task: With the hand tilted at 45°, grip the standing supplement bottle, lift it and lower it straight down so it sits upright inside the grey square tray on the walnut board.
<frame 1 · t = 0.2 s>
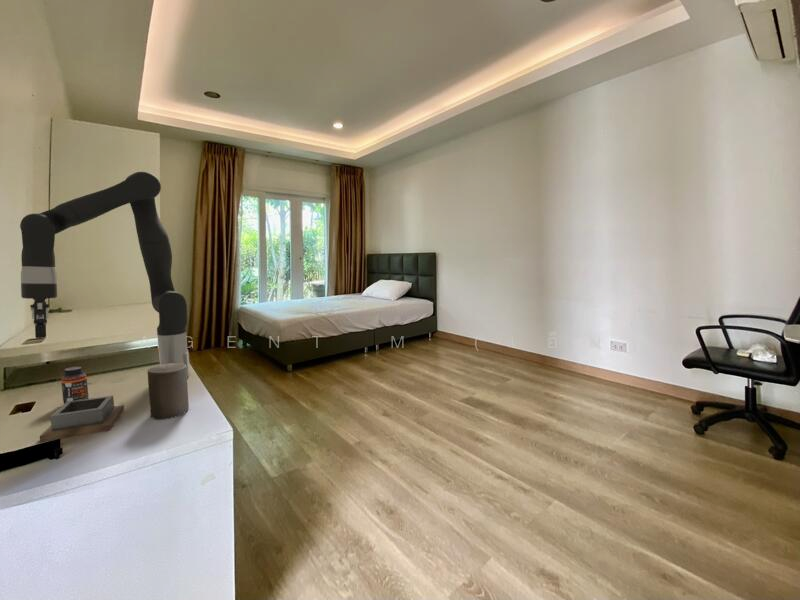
hand: (40, 336, 107), 22 cm above the table, tool pointing down, fingers open, 8 cm apart
socket board: (86, 424, 98), on the table
grey square tray: (84, 412, 98), on the socket board, point 4 cm above the table
supplement bottle: (76, 403, 113), on the table
pillar candle: (170, 412, 106), on the table
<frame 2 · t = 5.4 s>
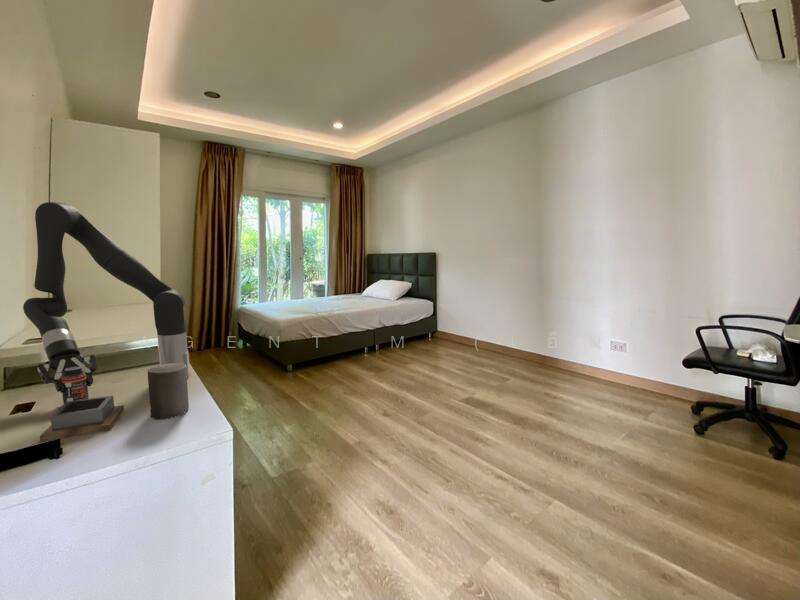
hand: (76, 387, 111), 5 cm above the table, tool tilted 45°, fingers closed on supplement bottle, 6 cm apart
supplement bottle: (76, 403, 113), on the table, touching gripper
everything else where it was.
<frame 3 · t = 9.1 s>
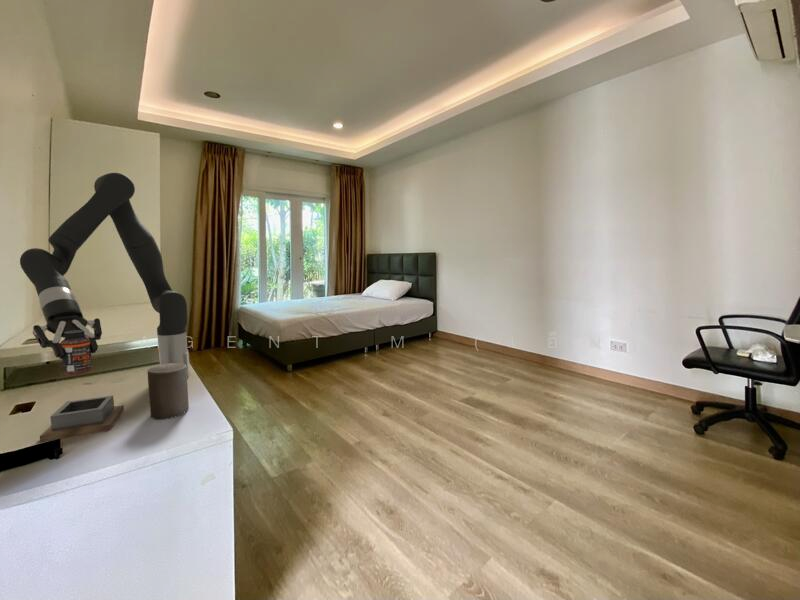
hand: (78, 353, 95), 20 cm above the table, tool tilted 45°, fingers closed on supplement bottle, 6 cm apart
supplement bottle: (78, 372, 97), point 15 cm above the table, touching gripper
everything else where it was.
when the fingers open (9 cm above the table, at t = 12.4 s): supplement bottle drops 2 cm, resting on socket board.
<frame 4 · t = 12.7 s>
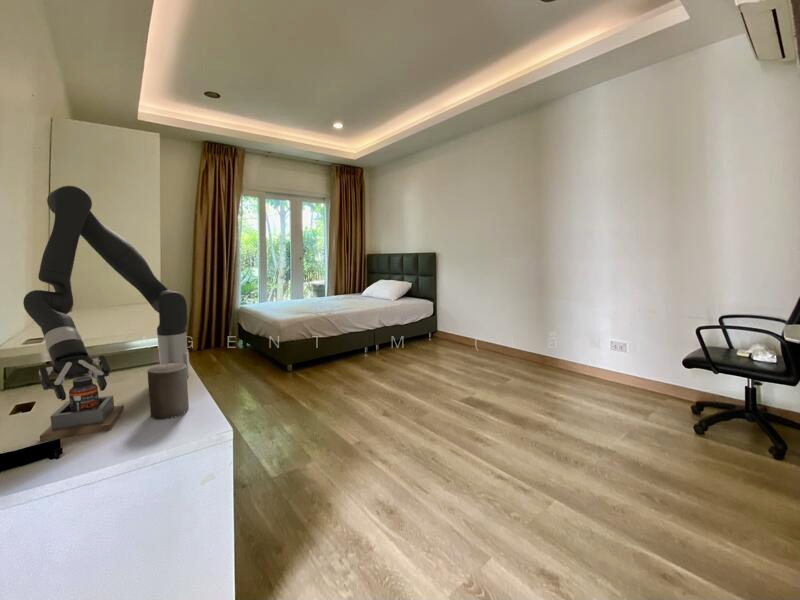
hand: (84, 393, 96), 9 cm above the table, tool tilted 45°, fingers open, 8 cm apart
supplement bottle: (86, 419, 98), point 1 cm above the table, touching socket board
everything else where it was.
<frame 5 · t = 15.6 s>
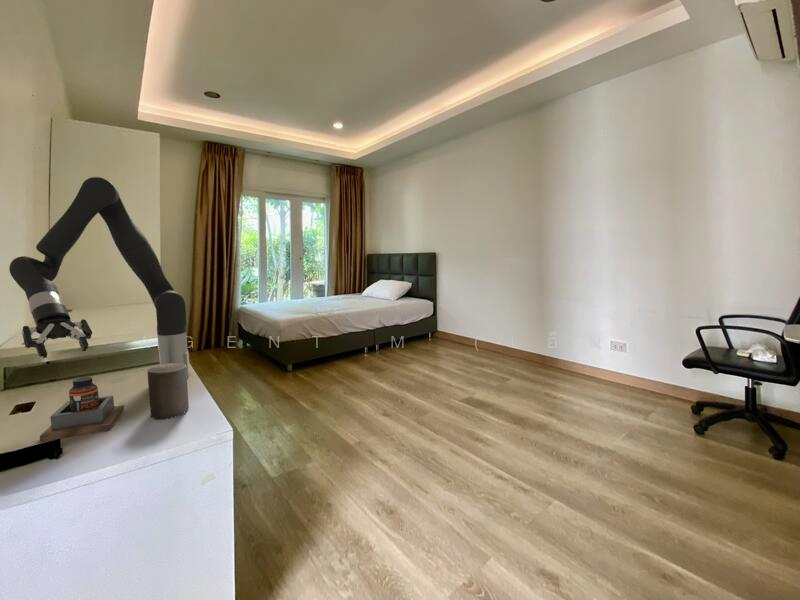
hand: (65, 352, 102), 19 cm above the table, tool tilted 45°, fingers open, 8 cm apart
nothing on the table moved.
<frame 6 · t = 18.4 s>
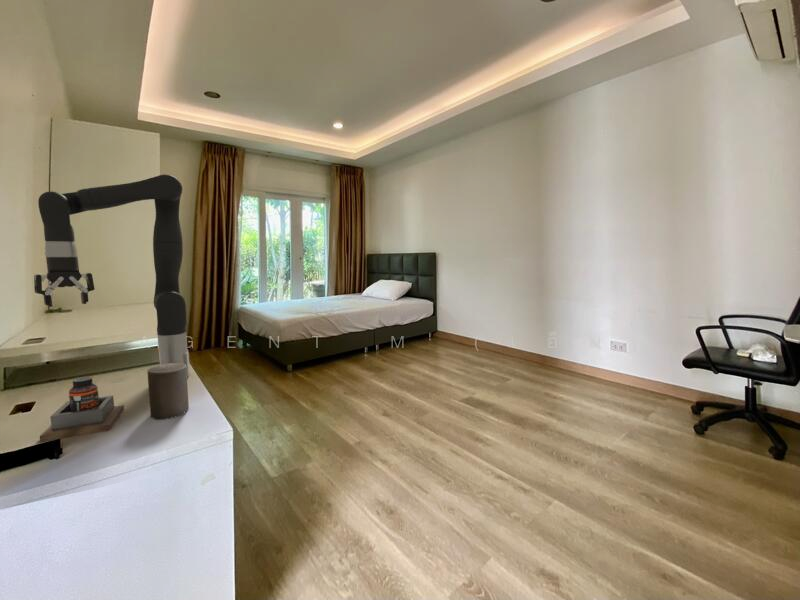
hand: (67, 305, 118), 30 cm above the table, tool pointing down, fingers open, 8 cm apart
nothing on the table moved.
at the end: supplement bottle 0.3 cm off-centre on the socket board, point 1.3 cm above the socket board's base; supplement bottle tilted 0°; the gripper is holding nothing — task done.
